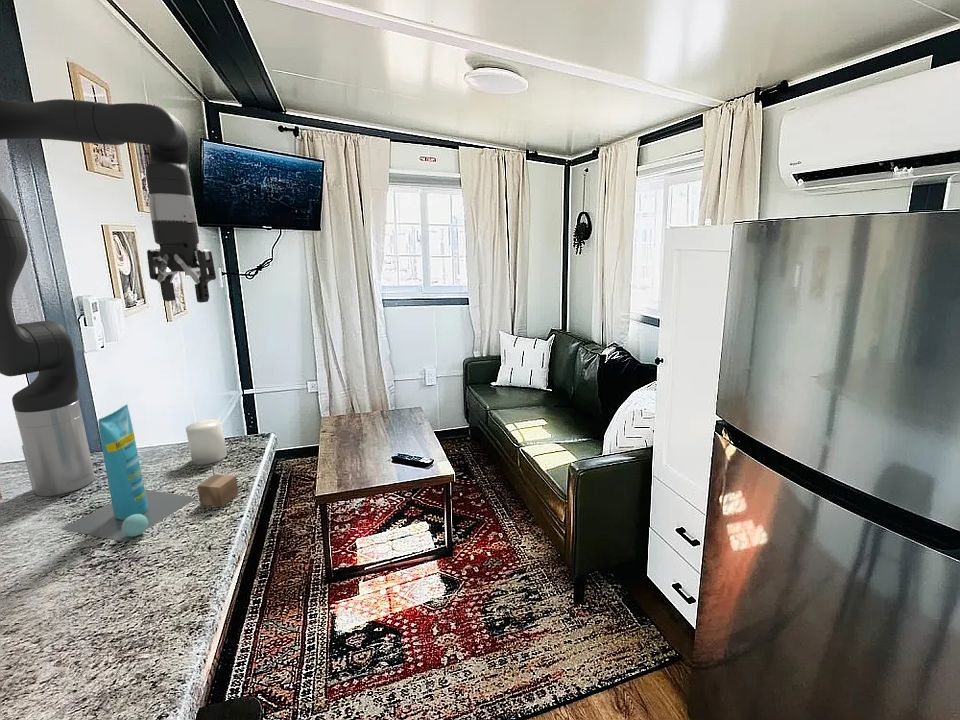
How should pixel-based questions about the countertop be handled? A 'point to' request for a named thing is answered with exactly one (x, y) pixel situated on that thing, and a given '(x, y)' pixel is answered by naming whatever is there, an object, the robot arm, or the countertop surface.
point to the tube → (122, 464)
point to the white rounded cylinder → (206, 441)
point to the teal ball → (134, 525)
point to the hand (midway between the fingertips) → (186, 301)
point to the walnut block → (217, 490)
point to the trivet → (111, 528)
